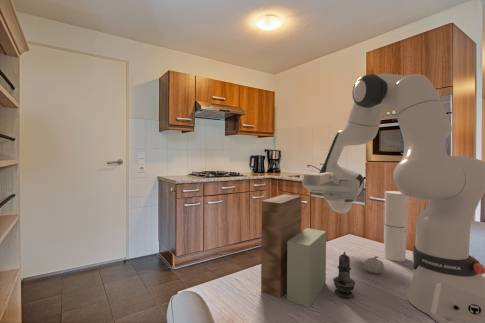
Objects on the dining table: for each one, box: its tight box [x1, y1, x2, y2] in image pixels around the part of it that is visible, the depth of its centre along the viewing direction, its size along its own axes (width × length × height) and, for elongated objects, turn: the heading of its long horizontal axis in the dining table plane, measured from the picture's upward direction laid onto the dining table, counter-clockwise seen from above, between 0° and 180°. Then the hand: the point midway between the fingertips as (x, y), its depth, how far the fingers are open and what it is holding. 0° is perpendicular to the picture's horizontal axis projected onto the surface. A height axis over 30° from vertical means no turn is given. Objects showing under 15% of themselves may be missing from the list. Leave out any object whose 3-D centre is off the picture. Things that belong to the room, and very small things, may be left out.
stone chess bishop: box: [332, 251, 356, 300], centre depth 73 cm, size 6×6×12 cm
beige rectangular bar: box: [302, 172, 333, 186], centre depth 87 cm, size 5×20×3 cm, turn 146°
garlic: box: [363, 255, 385, 274], centre depth 87 cm, size 6×5×5 cm
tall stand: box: [260, 194, 302, 298], centre depth 79 cm, size 6×15×26 cm, turn 146°
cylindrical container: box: [383, 190, 408, 262], centre depth 99 cm, size 7×7×25 cm
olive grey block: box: [286, 227, 327, 308], centre depth 74 cm, size 6×15×16 cm, turn 146°
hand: (325, 176), depth 91 cm, fingers closed on beige rectangular bar, 3 cm apart
